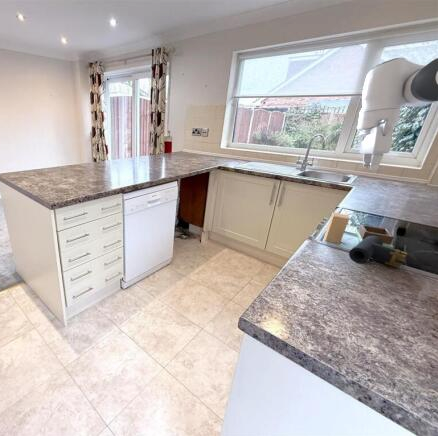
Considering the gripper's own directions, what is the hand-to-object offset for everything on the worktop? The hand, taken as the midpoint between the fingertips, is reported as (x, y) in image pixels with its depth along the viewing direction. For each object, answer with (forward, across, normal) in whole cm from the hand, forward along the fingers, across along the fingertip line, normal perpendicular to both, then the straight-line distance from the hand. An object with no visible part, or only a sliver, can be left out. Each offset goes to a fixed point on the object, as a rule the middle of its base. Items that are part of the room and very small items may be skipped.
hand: (370, 169), depth 76 cm
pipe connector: (+29, -1, -5) cm, 30 cm away
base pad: (+28, +17, -7) cm, 33 cm away
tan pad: (+26, +8, +6) cm, 28 cm away
